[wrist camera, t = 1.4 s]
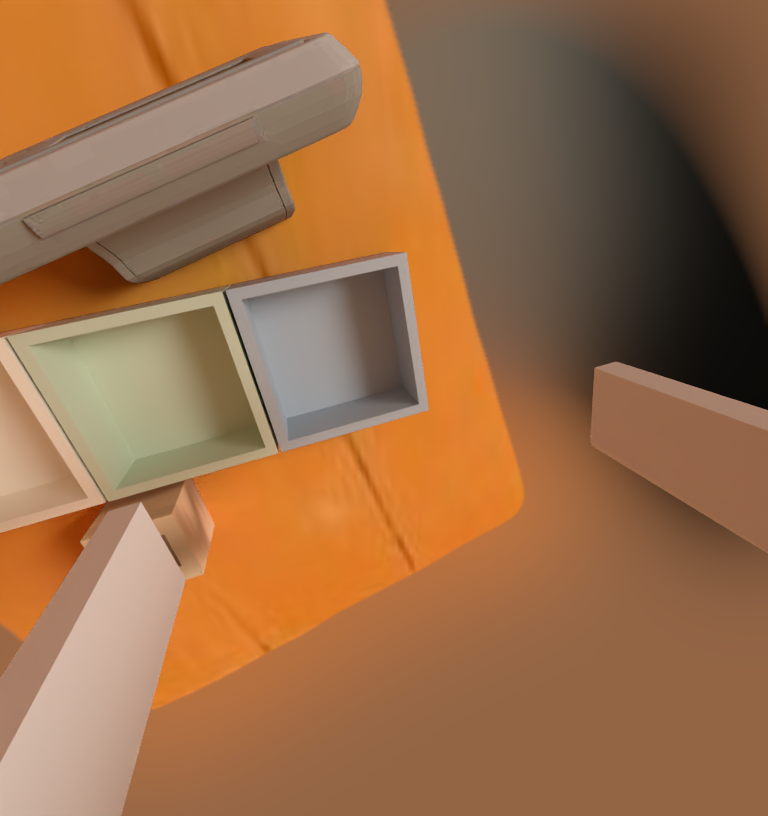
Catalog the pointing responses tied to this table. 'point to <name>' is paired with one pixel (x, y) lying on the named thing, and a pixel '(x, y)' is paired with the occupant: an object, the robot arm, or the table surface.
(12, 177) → the digital clock
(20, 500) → the caddy cream
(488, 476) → the table surface
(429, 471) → the table surface
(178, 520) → the letter cube
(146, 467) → the box
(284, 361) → the box
